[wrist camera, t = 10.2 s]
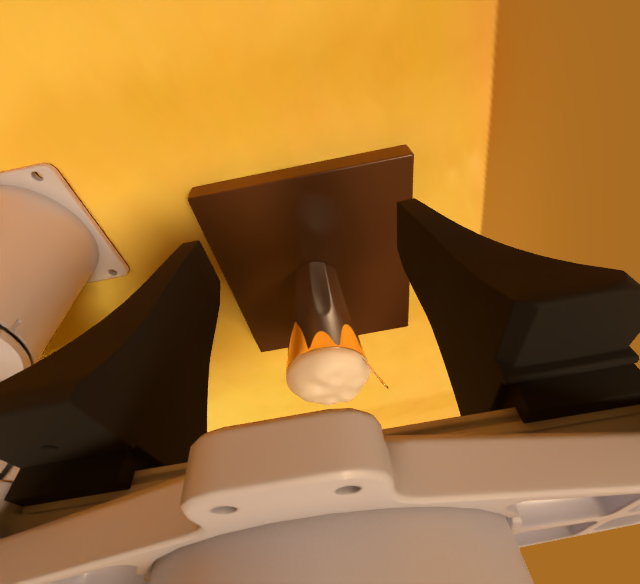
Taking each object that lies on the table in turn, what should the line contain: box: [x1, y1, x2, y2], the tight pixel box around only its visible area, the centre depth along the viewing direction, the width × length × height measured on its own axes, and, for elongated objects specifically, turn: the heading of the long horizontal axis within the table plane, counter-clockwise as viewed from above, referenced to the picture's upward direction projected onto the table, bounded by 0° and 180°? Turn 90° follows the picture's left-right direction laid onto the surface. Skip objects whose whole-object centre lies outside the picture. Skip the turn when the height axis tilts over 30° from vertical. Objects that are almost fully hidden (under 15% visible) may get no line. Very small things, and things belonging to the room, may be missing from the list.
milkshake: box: [286, 262, 388, 405], centre depth 20 cm, size 5×5×10 cm
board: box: [188, 145, 414, 352], centre depth 24 cm, size 13×15×2 cm
